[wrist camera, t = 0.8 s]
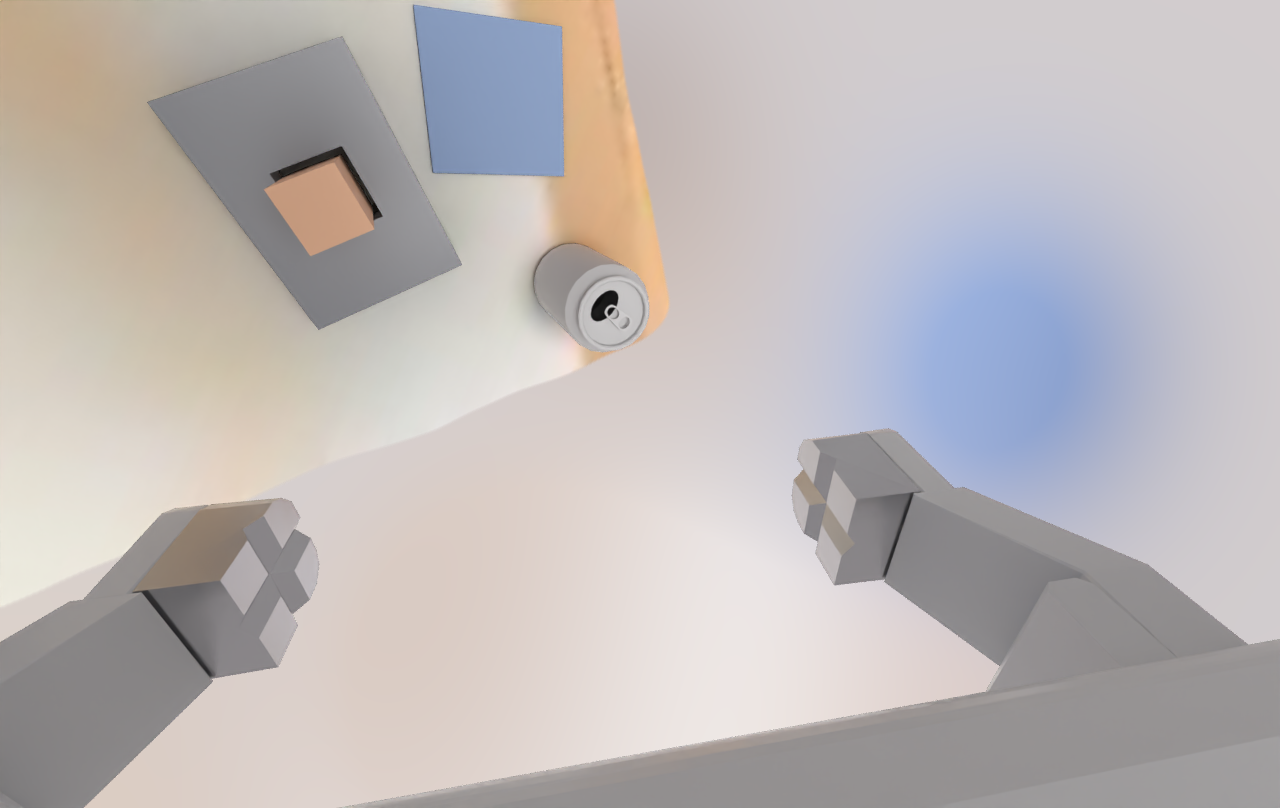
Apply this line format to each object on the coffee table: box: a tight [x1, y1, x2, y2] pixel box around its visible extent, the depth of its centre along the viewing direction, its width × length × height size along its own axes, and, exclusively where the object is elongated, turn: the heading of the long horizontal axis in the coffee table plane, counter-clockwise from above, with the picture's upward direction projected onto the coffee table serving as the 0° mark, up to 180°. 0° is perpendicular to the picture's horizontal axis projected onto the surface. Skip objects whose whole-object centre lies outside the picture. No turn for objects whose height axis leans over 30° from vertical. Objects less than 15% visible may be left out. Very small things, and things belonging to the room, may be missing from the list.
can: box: [534, 243, 649, 352], centre depth 46 cm, size 8×8×12 cm
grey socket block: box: [147, 36, 462, 330], centre depth 38 cm, size 16×12×4 cm
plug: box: [264, 154, 374, 256], centre depth 35 cm, size 4×4×12 cm
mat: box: [413, 5, 564, 176], centre depth 42 cm, size 11×11×1 cm
